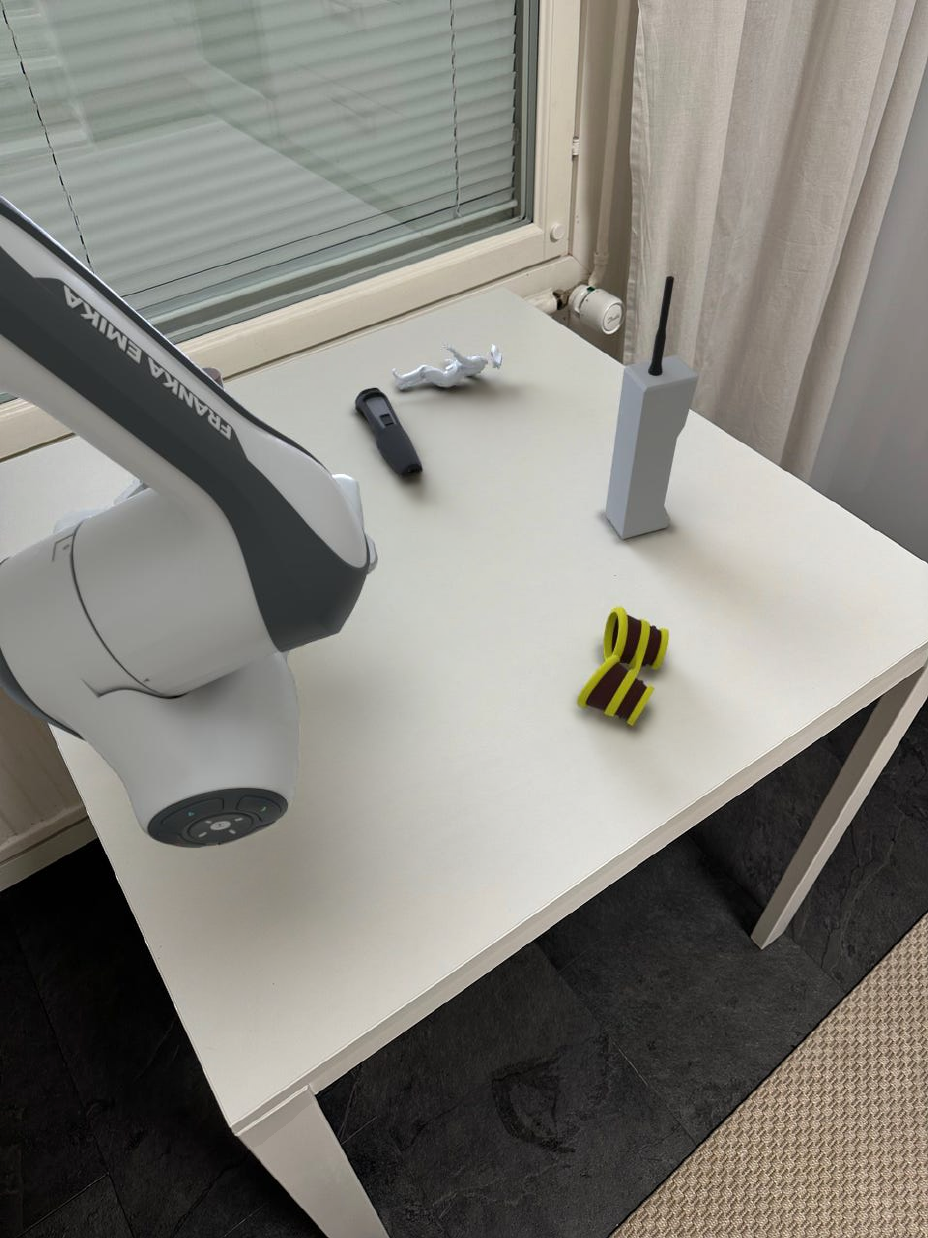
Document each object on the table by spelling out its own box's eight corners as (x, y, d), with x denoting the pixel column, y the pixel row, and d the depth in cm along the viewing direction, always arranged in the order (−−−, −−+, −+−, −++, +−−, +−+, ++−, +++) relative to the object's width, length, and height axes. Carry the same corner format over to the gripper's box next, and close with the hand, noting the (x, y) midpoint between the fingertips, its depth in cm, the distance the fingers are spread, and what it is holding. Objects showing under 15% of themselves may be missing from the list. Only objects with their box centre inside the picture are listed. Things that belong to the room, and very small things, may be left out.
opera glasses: (631, 742, 70) (652, 708, 66) (569, 715, 70) (586, 680, 67) (659, 653, 76) (680, 617, 72) (601, 629, 77) (619, 592, 73)
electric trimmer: (396, 492, 90) (394, 467, 88) (352, 408, 100) (349, 384, 97) (431, 483, 91) (430, 458, 89) (384, 401, 101) (382, 376, 98)
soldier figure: (395, 379, 105) (486, 333, 105) (413, 416, 106) (504, 371, 105) (389, 365, 98) (487, 316, 97) (408, 406, 98) (507, 356, 97)
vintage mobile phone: (668, 528, 85) (718, 279, 67) (621, 541, 84) (659, 291, 66) (650, 504, 88) (694, 258, 69) (604, 516, 87) (636, 269, 68)
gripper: (377, 541, 54) (351, 413, 64) (29, 593, 52) (55, 451, 61) (385, 612, 59) (360, 482, 68) (67, 662, 57) (85, 521, 66)
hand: (214, 468), depth 65 cm, fingers open, 8 cm apart
